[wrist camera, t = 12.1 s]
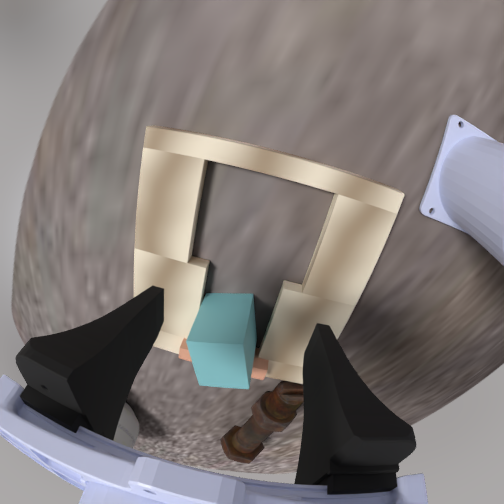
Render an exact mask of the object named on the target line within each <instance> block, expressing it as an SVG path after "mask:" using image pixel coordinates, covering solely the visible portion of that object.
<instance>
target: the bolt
mask: <svg viewBox="0 0 504 504" xmlns="http://www.w3.org/2000/svg"><path fill="white" fill-rule="evenodd" d="M303 402H304V398H303V386H302V385H301V384H299V383H295V382H289V381H281V382H280V383H279V384H278V385H277V387H276V388H275V389H274V390H273V392H266V393H265V394H264V395H262V396H261V397H260V398H259V399H258V400H257V402H256V403H255V404H254V405H253V406H252V407H251V409H252V413H253V415H252V416H251V418H250V419H249V420H248V421H247V422H246V423H245V424H244V425H243V426H242V427H239V426H234V427H233V428H232V429H231V430H230V431H228V432H227V433H226V434H225V435H224V436H223V437H222V438H221V439H220V440H221V445H222V448H223V450H224V453H225V454H226V456H227V457H228V458H229V459H231V460H234V461H237V462H241V463H250V462H252V461H253V460H254V459H255V457H256V456H257V455H258V454H259V453H260V452H261V451H262V450H263V449H264V446H263V444H262V442H263V441H264V440H265V439H266V438H267V437H268V436H269V435H270V434H272V433H273V432H282V431H283V430H284V429H285V428H286V427H287V426H288V425H289V424H290V423H291V422H292V420H293V419H294V418H295V417H296V415H297V413H296V409H297V408H298V407H299V406H300V405H301V404H302V403H303Z"/></svg>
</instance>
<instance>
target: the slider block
mask: <svg viewBox="0 0 504 504" xmlns="http://www.w3.org/2000/svg"><path fill="white" fill-rule="evenodd" d="M256 342H257V332H256V321H255V309H254V297H253V294H226V293H206V295H205V297H204V299H203V302H202V304H201V306H200V309H199V311H198V314H197V316H196V318H195V321H194V323H193V325H192V328H191V330H190V333H189V335H188V337H187V340H186V343H187V346H188V350H189V353H190V357H191V360H192V363H193V366H194V370H195V373H196V376H197V379H198V382H199V385H202V386H212V387H224V388H239V389H249V387H250V380H251V374H252V368H253V361H254V355H255V348H256Z"/></svg>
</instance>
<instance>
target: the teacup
mask: <svg viewBox="0 0 504 504" xmlns="http://www.w3.org/2000/svg"><path fill="white" fill-rule="evenodd" d="M138 434H139V422H138V420H137V418H136V416H135V414H134V412H133V410H132V408H131V407H130V406H129V405H128V404H127V403H126V402H125V404H124V407H123V410H122V413H121V416H120V419H119V422H118V426H117V429H116V433H115V436H114V440H113V441H115V442H117V443H120V444H122V445H125V446H127V447H130V448H133V446H134V444H135V442H136V439H137V437H138Z"/></svg>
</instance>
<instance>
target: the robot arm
mask: <svg viewBox="0 0 504 504" xmlns="http://www.w3.org/2000/svg"><path fill="white" fill-rule="evenodd" d="M459 122H460V123H461V127H459V126H458V123H459ZM431 208H433V211H432V212H431V213H429V210H430V209H431ZM419 209H420V212H421V213H422V214H423V215H425V216H428V217H430V218H433V219H435V220H437V221H440V222H442V223H445V224H447V225H449V226H452V227H454V228H456V229H459V230H461V231H463V232H465V233H468V234H469V235H471V236H472V237H473V238H474V239H475V240H476V241H477V242H478V243H480V244H481V245H482V246H483V247H484V248H485V249H486V250H487V251H488V252H489V253H490V254H491V255H492V256H494V257H495V258H496V259H497V260H498V261H499V262H500V263H501V264H502V265H503V266H504V143H500V142H497V141H496V140H494V139H493V138H491V137H490V136H489V135H487V134H486V133H484V132H483V131H481V130H480V129H478V128H476V127H475V126H473V125H472V124H470V123H469V122H467V121H465V120H464V119H462V118H460V117H459V116H457V115H451V116H449V119H448V122H447V126H446V129H445V133H444V136H443V140H442V143H441V147H440V150H439V153H438V156H437V159H436V162H435V165H434V168H433V171H432V174H431V177H430V180H429V183H428V185H427V188H426V191H425V194H424V196H423V199H422V201H421V204H420V207H419ZM163 322H164V288H160V287H156V286H153V285H152V286H151V287H149V288H148V289H146V290H145V291H143V292H142V293H140V294H139V295H137V296H136V297H134V298H133V299H131V300H130V301H128V302H127V303H125V304H124V305H122V306H120V307H119V308H117V309H115V310H114V311H112V312H110V313H108V314H107V315H105V316H103V317H101V318H99V319H97V320H94V321H92V322H90V323H88V324H85V325H82V326H80V327H77V328H74V329H71V330H68V331H64V332H61V333H57V334H52V335H47V336H41V337H34V338H31V339H30V340H29V341H28V342H27V343H26V345H25V346H24V347H23V348H22V349H21V351H20V352H19V353H18V354H17V356H16V364H17V366H18V368H19V370H20V372H21V374H22V376H23V377H24V379H25V381H26V383H27V384H28V385H27V386H26V388H25V389H24V388H23V387H22V386H21V385H19V384H18V383H17V382H15V381H14V380H12V379H11V378H9V377H8V376H7V375H5V374H3V375H2V377H1V378H0V435H1V436H2V437H3V438H4V439H6V440H7V441H8V442H9V443H11V444H12V445H13V446H15V447H16V448H17V449H19V450H20V451H21V452H23V453H24V454H26V455H27V456H28V457H30V458H31V459H33V460H34V461H35V462H37V463H38V464H40V465H41V466H43V467H45V468H46V469H47V470H49V471H50V472H52V473H54V474H55V475H57V476H59V477H60V478H62V479H63V480H66V481H67V482H68V483H70V484H72V485H74V486H76V487H78V488H79V489H81V490H83V491H84V492H83V494H82V497H81V499H80V502H79V504H428V499H427V492H426V485H425V479H424V474H422V473H420V474H413V475H406V476H401V477H398V478H396V472H398V471H399V465H398V463H400V462H401V461H402V460H404V459H405V458H406V457H408V456H409V455H410V454H411V453H412V452H413V451H414V450H415V448H416V441H415V435H414V432H413V428H412V427H411V426H410V425H409V424H407V423H406V422H405V421H403V420H402V419H400V418H399V417H398V416H396V415H395V414H394V413H393V412H392V411H391V410H389V409H388V408H387V407H386V406H385V405H384V404H383V403H382V402H381V401H380V400H379V399H378V398H377V397H376V396H375V395H374V394H373V393H372V392H371V390H370V389H369V388H368V387H367V386H366V384H365V383H364V382H363V381H362V379H361V378H360V377H359V375H358V374H357V372H356V371H355V369H354V368H353V366H352V365H351V363H350V362H349V360H348V358H347V357H346V355H345V353H344V352H343V350H342V348H341V346H340V344H339V342H338V341H337V339H336V337H335V335H334V333H333V331H332V329H331V327H330V326H329V325H325V324H320V323H317V324H316V326H315V329H314V331H313V333H312V336H311V338H310V340H309V343H308V345H307V347H306V350H305V352H304V359H303V371H302V372H303V398H304V422H303V432H302V441H301V449H300V456H299V462H298V468H297V473H296V479H295V483H294V484H287V483H277V482H267V481H260V480H253V479H246V478H240V477H234V476H229V475H224V474H219V473H214V472H210V471H205V470H201V469H197V468H193V467H189V466H186V465H182V464H178V463H175V462H172V461H168V460H165V459H162V458H159V457H156V456H152V455H150V454H147V453H144V452H141V451H138V450H135V449H133V448H130V447H127V446H125V445H122V444H120V443H117V442H115V441H113V440H114V436H115V433H116V429H117V426H118V422H119V419H120V416H121V413H122V410H123V407H124V404H125V402H126V399H127V396H128V394H129V391H130V389H131V386H132V384H133V381H134V379H135V377H136V375H137V373H138V371H139V369H140V367H141V366H142V364H143V362H144V360H145V359H146V357H147V355H148V353H149V352H150V350H151V348H152V346H153V344H154V343H155V341H156V339H157V337H158V335H159V332H160V330H161V327H162V325H163Z"/></svg>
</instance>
